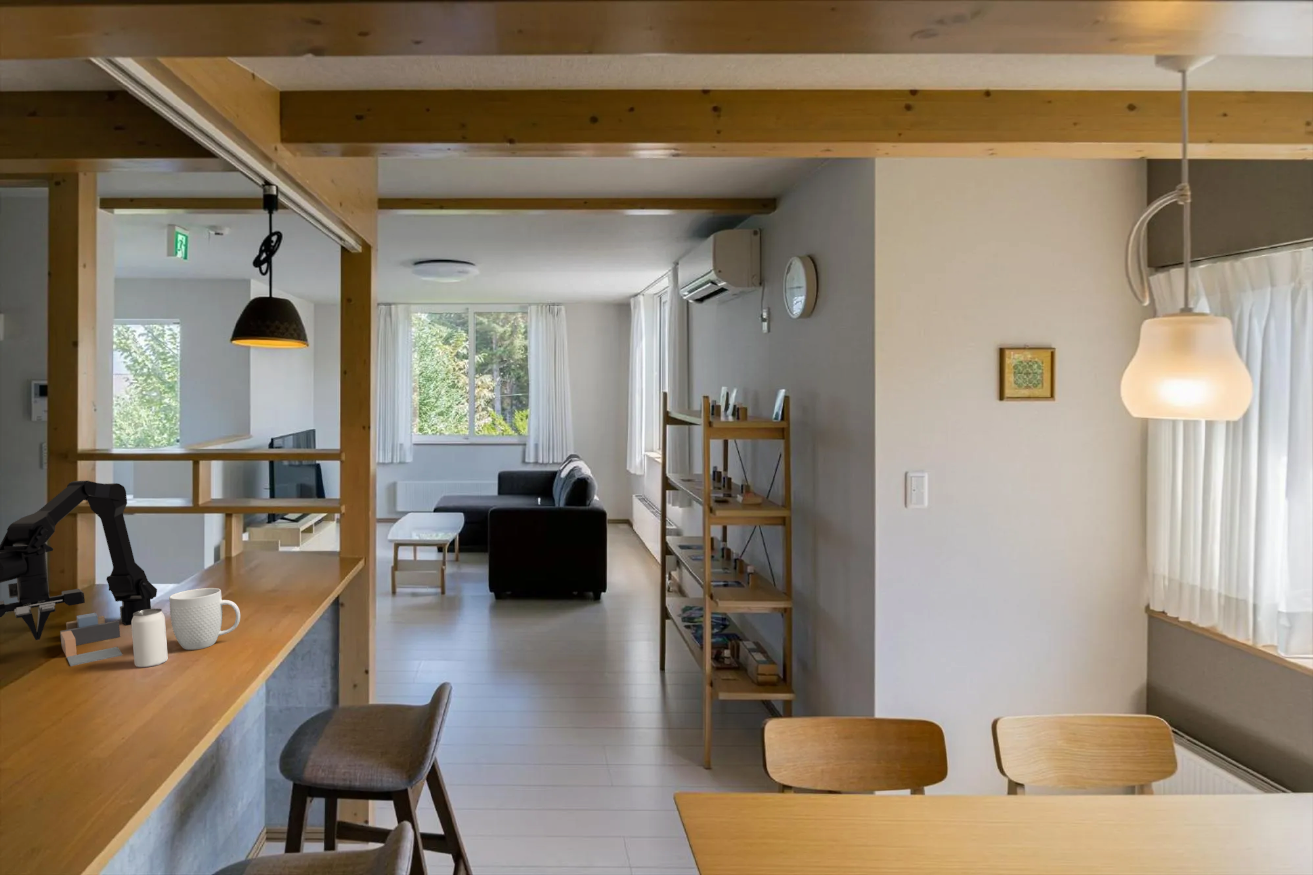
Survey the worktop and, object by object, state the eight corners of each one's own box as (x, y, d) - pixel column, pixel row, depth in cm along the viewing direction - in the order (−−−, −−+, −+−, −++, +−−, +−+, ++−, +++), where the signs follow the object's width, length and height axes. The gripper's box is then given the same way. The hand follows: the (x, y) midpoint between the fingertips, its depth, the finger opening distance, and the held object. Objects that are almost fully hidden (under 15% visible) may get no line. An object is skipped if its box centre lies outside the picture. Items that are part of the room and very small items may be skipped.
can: (174, 659, 184) (170, 608, 183) (148, 669, 178) (144, 616, 177) (154, 657, 186) (150, 607, 186) (127, 666, 180) (123, 614, 179)
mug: (245, 634, 202) (241, 583, 202) (238, 646, 192) (234, 593, 191) (178, 642, 197) (174, 591, 197) (168, 655, 187) (163, 601, 186)
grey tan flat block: (119, 635, 205) (118, 620, 205) (126, 645, 196) (125, 629, 196) (61, 646, 197) (60, 631, 197) (66, 657, 189) (65, 640, 188)
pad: (117, 648, 194) (117, 646, 194) (122, 655, 188) (122, 653, 188) (66, 658, 188) (66, 656, 188) (70, 666, 182) (70, 664, 182)
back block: (104, 630, 211) (103, 615, 211) (105, 631, 210) (104, 617, 210) (67, 637, 206) (66, 622, 206) (68, 639, 204) (66, 623, 204)
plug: (97, 635, 207) (95, 612, 207) (99, 638, 204) (97, 615, 204) (78, 638, 205) (76, 615, 204) (80, 641, 202) (78, 618, 201)
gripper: (76, 562, 198) (82, 624, 199) (-21, 576, 186) (-16, 641, 187) (82, 569, 190) (87, 633, 191) (-20, 583, 178) (-14, 652, 178)
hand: (37, 639), depth 187 cm, fingers closed
